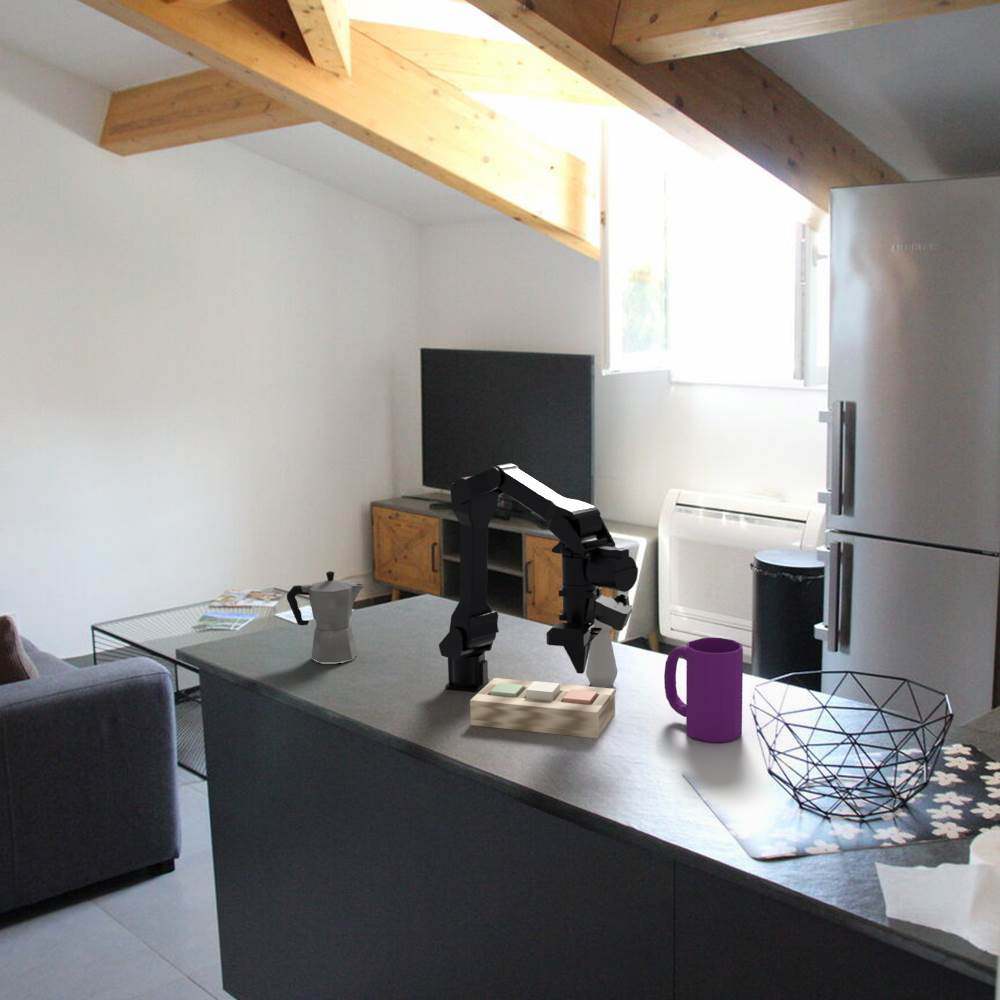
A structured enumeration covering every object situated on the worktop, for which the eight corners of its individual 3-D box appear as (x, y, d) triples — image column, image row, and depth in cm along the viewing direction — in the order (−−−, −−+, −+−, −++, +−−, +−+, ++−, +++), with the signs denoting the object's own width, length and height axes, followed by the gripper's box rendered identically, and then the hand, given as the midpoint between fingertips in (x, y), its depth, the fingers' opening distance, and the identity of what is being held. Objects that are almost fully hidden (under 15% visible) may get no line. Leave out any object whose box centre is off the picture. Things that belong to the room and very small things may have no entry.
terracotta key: (563, 717, 193) (563, 698, 193) (571, 708, 198) (570, 689, 197) (590, 720, 192) (589, 700, 191) (597, 710, 196) (597, 691, 196)
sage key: (490, 710, 198) (489, 691, 197) (499, 701, 202) (498, 682, 201) (515, 712, 196) (515, 693, 196) (524, 703, 200) (524, 684, 200)
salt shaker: (615, 690, 211) (615, 621, 208) (584, 689, 212) (583, 620, 210) (619, 680, 216) (618, 612, 214) (588, 679, 217) (587, 611, 215)
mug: (715, 748, 182) (715, 657, 180) (646, 721, 195) (646, 635, 192) (754, 734, 188) (755, 645, 185) (685, 709, 200) (685, 625, 198)
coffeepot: (364, 648, 240) (360, 564, 237) (369, 662, 231) (365, 574, 228) (289, 655, 237) (284, 569, 234) (291, 669, 228) (286, 580, 225)
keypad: (470, 725, 195) (470, 700, 194) (494, 701, 206) (494, 677, 206) (597, 738, 188) (597, 712, 187) (615, 713, 199) (615, 688, 198)
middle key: (526, 708, 195) (526, 689, 195) (534, 700, 200) (534, 681, 199) (552, 711, 194) (552, 692, 193) (560, 702, 198) (560, 683, 198)
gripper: (613, 598, 179) (614, 695, 182) (639, 571, 197) (640, 660, 199) (544, 594, 183) (546, 689, 186) (576, 568, 200) (577, 655, 203)
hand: (580, 672), depth 193 cm, fingers closed
